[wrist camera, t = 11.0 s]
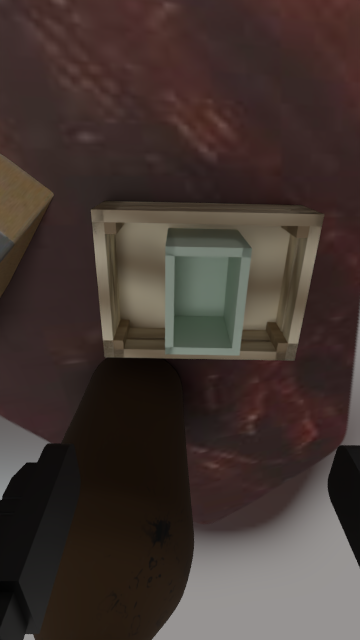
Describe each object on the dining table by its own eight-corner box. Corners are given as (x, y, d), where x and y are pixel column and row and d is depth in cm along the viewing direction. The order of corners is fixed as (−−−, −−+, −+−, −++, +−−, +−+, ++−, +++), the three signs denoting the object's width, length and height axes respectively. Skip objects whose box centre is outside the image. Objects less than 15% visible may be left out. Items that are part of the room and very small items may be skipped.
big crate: (104, 201, 26) (90, 209, 22) (301, 205, 27) (324, 214, 22) (114, 330, 31) (104, 357, 27) (279, 333, 32) (294, 360, 28)
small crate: (168, 227, 27) (165, 246, 21) (237, 229, 27) (252, 248, 21) (167, 318, 30) (165, 354, 25) (228, 319, 30) (239, 355, 25)
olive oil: (91, 334, 32) (-123, 768, 9) (199, 355, 33) (242, 791, 10) (80, 418, 36) (-81, 845, 14) (175, 434, 37) (170, 855, 15)
